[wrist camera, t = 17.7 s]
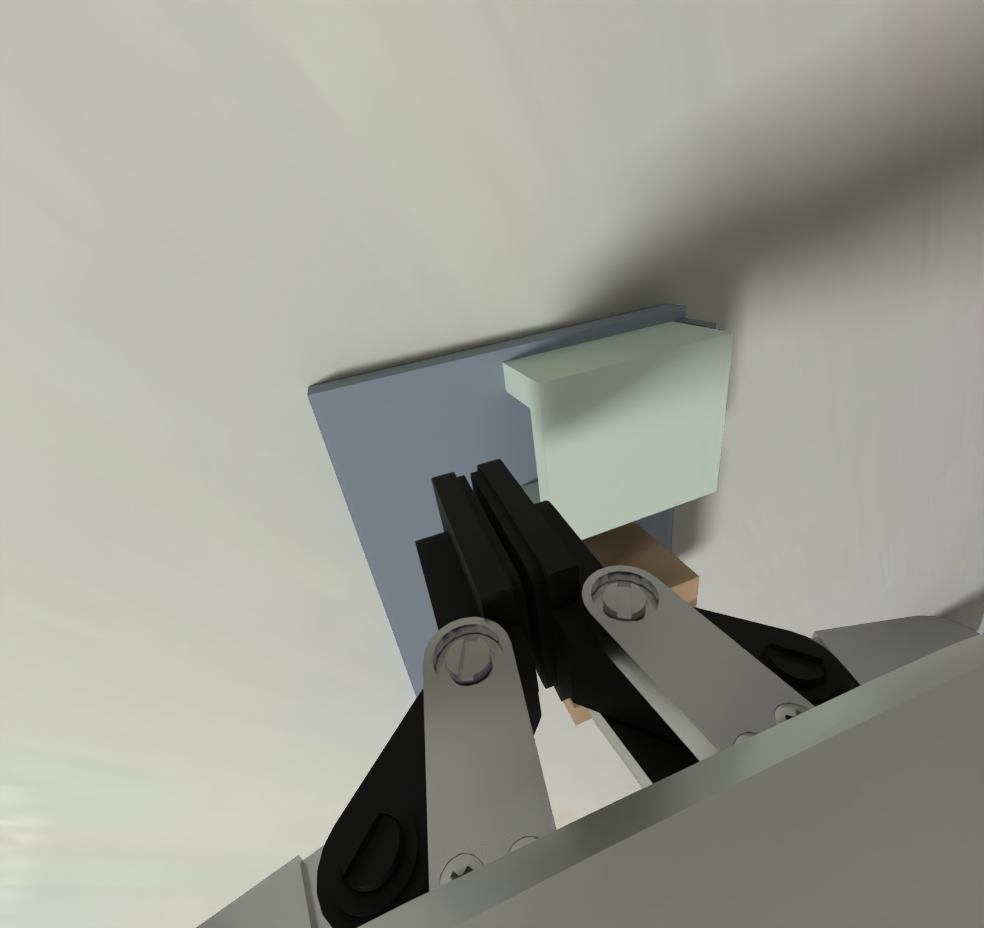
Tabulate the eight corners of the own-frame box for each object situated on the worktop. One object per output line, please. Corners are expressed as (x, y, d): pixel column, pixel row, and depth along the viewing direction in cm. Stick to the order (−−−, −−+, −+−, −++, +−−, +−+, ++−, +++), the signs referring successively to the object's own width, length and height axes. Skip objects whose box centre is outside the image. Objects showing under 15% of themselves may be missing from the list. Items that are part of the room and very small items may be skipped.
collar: (630, 517, 23) (699, 576, 19) (629, 605, 26) (689, 672, 22) (519, 557, 22) (567, 630, 18) (532, 644, 25) (575, 725, 21)
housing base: (667, 303, 20) (818, 324, 14) (655, 603, 29) (744, 696, 23) (308, 386, 16) (300, 464, 10) (420, 700, 25) (452, 842, 19)
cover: (671, 321, 19) (734, 332, 16) (665, 461, 22) (716, 491, 20) (502, 362, 17) (538, 383, 14) (522, 508, 21) (555, 549, 18)
